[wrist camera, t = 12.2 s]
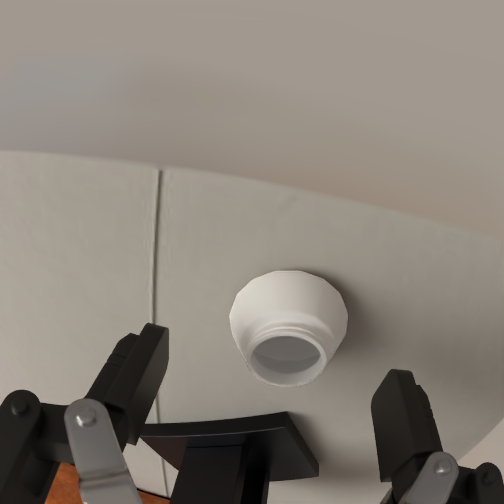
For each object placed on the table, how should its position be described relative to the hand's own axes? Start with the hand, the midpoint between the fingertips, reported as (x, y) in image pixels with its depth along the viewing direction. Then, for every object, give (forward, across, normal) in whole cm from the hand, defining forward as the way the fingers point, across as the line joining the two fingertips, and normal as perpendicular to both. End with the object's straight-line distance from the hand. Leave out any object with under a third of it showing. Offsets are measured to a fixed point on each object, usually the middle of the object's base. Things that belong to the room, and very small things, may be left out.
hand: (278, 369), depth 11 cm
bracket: (+4, 0, +14) cm, 14 cm away
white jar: (+4, 0, 0) cm, 4 cm away
